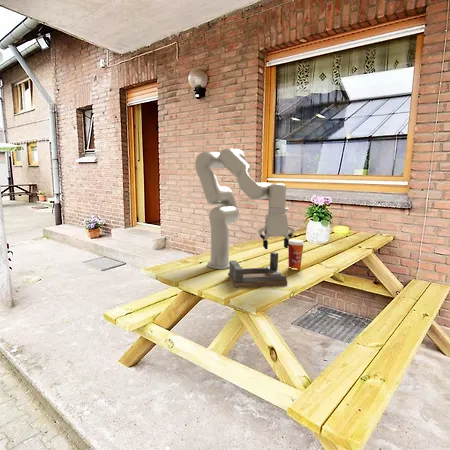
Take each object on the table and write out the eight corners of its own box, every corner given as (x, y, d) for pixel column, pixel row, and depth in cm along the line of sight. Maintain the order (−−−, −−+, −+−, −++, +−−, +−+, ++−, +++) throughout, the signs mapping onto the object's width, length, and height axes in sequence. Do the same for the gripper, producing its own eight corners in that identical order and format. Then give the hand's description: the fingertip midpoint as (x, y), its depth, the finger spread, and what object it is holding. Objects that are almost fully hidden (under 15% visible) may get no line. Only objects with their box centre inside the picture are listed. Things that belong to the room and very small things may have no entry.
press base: (228, 276, 160) (228, 260, 158) (275, 274, 165) (276, 258, 163) (235, 287, 145) (235, 270, 144) (287, 285, 150) (288, 268, 149)
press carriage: (265, 272, 161) (266, 250, 159) (273, 271, 161) (274, 250, 159) (272, 279, 151) (273, 256, 149) (281, 278, 152) (282, 256, 150)
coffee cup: (294, 272, 169) (296, 243, 166) (283, 267, 175) (284, 240, 172) (306, 269, 173) (307, 241, 171) (294, 265, 180) (295, 238, 177)
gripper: (291, 209, 156) (290, 245, 159) (255, 210, 153) (255, 247, 155) (298, 211, 149) (296, 249, 151) (260, 212, 145) (260, 250, 148)
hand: (275, 248), depth 153 cm, fingers open, 9 cm apart
